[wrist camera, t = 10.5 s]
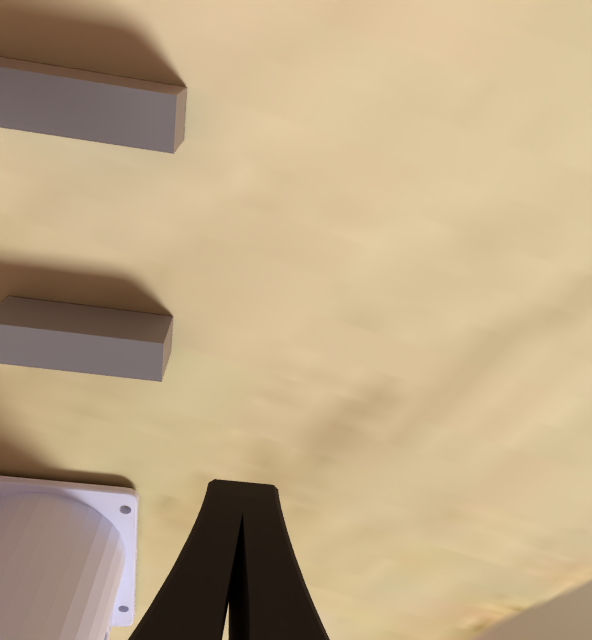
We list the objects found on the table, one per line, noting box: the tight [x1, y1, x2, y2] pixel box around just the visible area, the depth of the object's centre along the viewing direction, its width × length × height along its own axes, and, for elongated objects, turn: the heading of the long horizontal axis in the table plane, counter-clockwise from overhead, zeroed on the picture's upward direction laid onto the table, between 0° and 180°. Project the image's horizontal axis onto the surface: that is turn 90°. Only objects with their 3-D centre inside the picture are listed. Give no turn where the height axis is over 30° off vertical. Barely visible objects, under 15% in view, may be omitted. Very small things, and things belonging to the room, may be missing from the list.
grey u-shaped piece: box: [0, 57, 187, 382], centre depth 18 cm, size 10×6×2 cm, turn 171°
